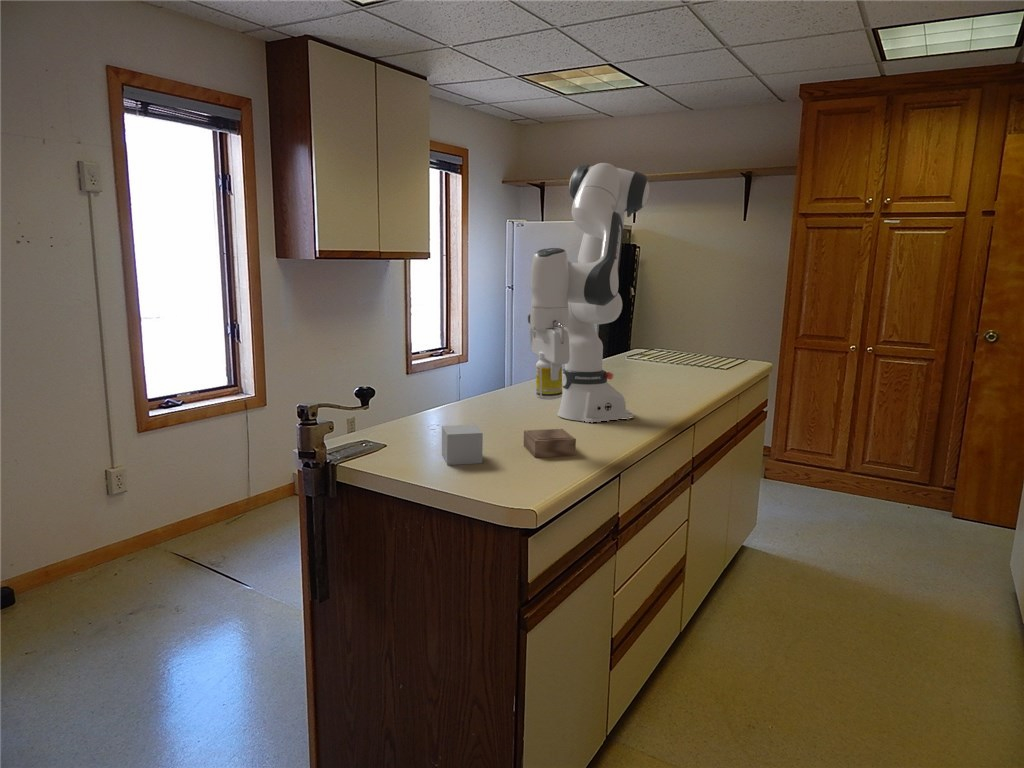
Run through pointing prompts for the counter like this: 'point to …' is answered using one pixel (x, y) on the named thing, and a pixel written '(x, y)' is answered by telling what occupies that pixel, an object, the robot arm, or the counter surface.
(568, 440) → the walnut base
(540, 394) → the pill bottle
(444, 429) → the grey pedestal
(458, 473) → the counter surface
